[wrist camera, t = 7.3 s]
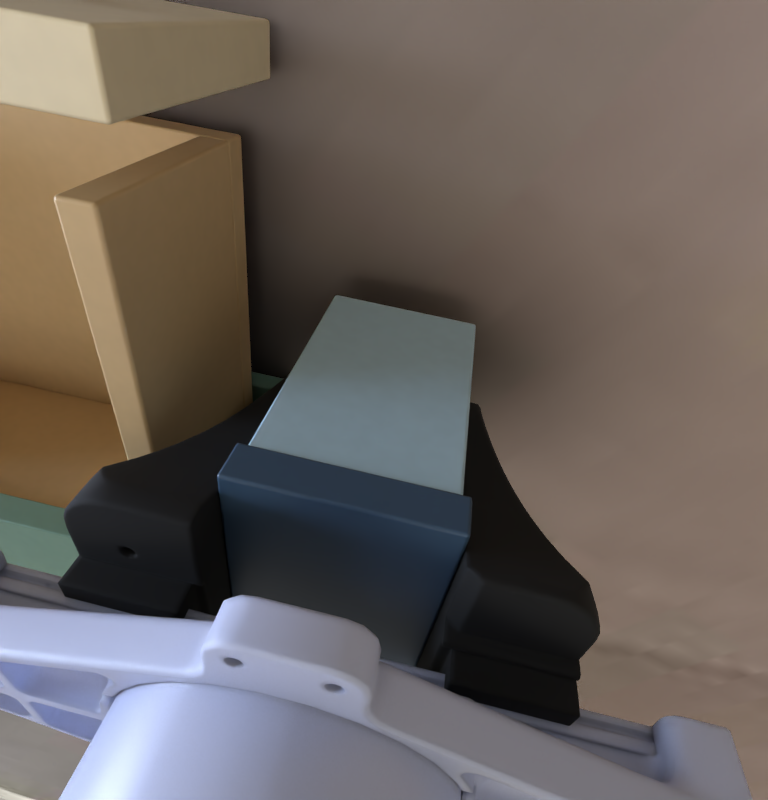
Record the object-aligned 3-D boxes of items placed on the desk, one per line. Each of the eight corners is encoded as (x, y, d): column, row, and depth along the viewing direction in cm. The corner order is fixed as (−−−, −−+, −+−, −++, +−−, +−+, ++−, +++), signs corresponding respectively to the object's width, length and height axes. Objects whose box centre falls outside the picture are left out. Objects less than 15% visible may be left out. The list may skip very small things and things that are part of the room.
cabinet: (-50, 304, 20) (-313, 444, 13) (296, 380, 19) (195, 567, 13) (53, 522, 29) (-73, 667, 23) (291, 579, 28) (230, 746, 22)
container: (319, 433, 18) (234, 633, 12) (330, 287, 14) (214, 475, 8) (440, 461, 18) (411, 678, 12) (483, 320, 14) (471, 536, 8)
